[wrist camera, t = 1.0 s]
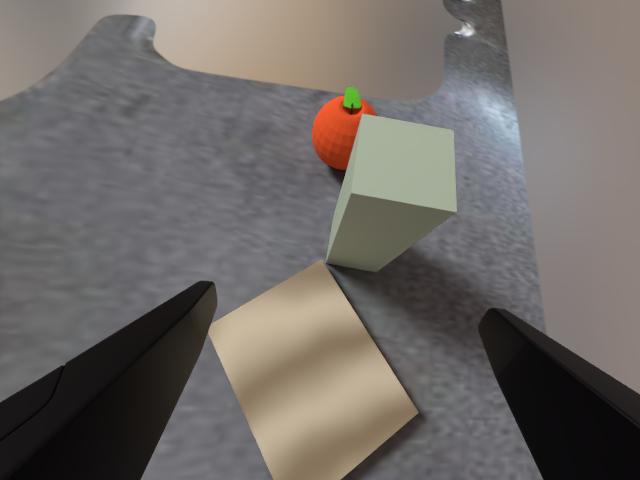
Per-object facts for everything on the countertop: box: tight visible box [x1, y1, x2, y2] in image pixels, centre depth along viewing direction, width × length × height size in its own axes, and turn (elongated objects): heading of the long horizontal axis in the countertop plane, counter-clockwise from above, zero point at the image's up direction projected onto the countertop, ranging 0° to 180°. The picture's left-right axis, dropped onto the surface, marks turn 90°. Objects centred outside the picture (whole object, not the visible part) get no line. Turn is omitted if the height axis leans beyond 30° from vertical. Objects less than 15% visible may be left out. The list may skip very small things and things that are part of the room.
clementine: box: [312, 87, 377, 170], centre depth 25 cm, size 8×7×7 cm
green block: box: [326, 114, 457, 272], centre depth 18 cm, size 5×5×13 cm
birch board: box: [208, 260, 419, 480], centre depth 19 cm, size 14×11×2 cm
